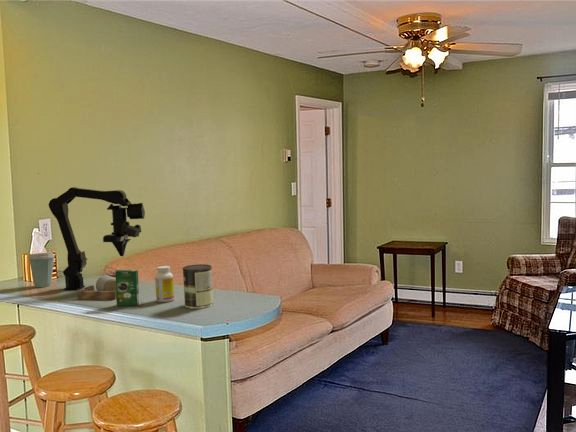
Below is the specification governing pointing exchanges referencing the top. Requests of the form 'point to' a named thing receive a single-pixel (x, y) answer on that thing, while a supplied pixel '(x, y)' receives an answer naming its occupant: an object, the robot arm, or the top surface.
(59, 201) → the robot arm
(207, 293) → the coffee can
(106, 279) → the ceramic mug
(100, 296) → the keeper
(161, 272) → the supplement bottle
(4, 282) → the top surface
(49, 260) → the disposable coffee cup
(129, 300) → the coffee box
